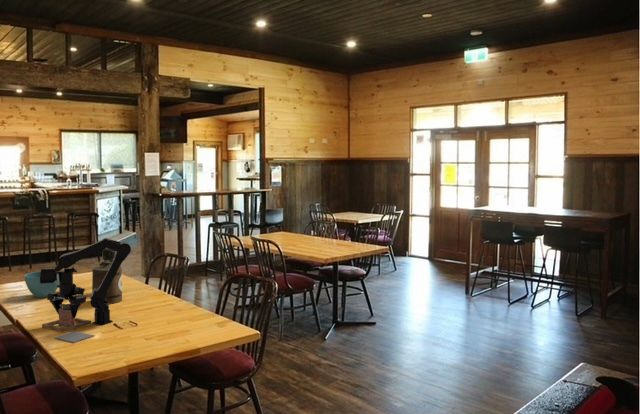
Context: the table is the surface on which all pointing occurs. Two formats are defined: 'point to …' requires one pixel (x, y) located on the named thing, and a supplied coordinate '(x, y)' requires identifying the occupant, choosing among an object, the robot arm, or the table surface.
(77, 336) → the charcoal mat
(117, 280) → the wooden container
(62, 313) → the lighter
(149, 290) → the table surface
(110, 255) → the spray bottle
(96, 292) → the robot arm
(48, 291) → the teal bowl
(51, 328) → the square wooden frame
